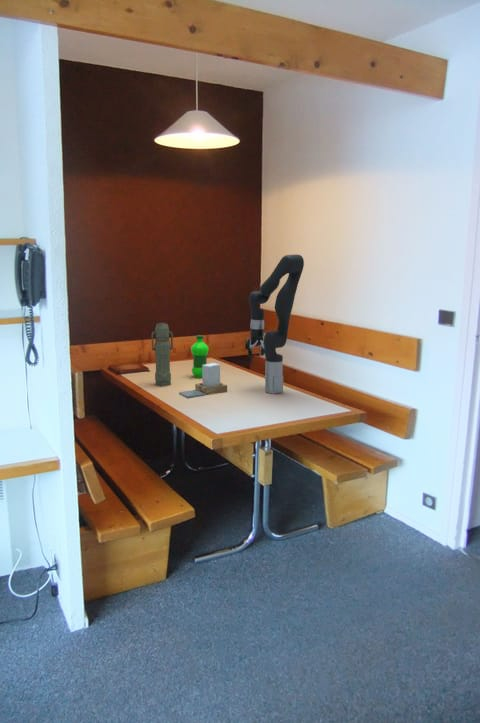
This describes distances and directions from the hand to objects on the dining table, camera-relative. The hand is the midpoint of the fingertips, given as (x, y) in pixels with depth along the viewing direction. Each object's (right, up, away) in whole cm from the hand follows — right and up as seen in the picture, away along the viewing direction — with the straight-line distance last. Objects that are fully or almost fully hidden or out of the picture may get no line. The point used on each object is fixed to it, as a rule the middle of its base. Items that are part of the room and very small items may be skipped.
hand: (256, 356), depth 318 cm
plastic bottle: (-33, -12, +27) cm, 45 cm away
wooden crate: (-25, -19, -6) cm, 32 cm away
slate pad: (-34, -21, -14) cm, 43 cm away
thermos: (-53, -16, +8) cm, 56 cm away
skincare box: (-25, -19, -6) cm, 32 cm away
